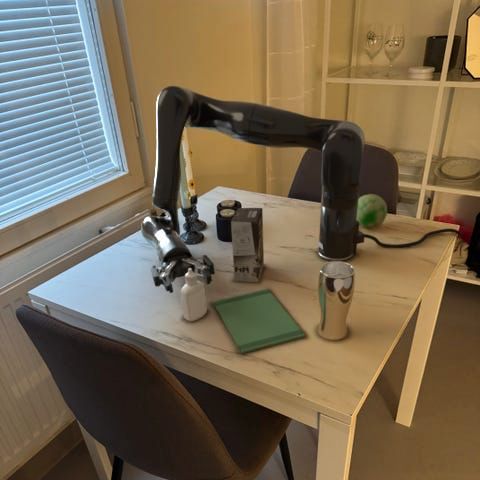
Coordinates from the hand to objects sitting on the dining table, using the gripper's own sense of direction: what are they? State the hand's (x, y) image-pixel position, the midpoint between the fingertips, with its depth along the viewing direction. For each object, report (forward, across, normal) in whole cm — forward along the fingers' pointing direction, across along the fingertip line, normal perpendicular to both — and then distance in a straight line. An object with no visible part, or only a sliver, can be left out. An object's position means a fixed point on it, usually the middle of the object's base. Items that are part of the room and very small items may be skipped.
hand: (190, 285), depth 102 cm
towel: (+9, +12, +7) cm, 16 cm away
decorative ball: (-22, +60, +7) cm, 64 cm away
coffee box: (-11, +18, +7) cm, 22 cm away
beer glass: (+19, +25, +7) cm, 33 cm away
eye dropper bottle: (+2, 0, +7) cm, 7 cm away
